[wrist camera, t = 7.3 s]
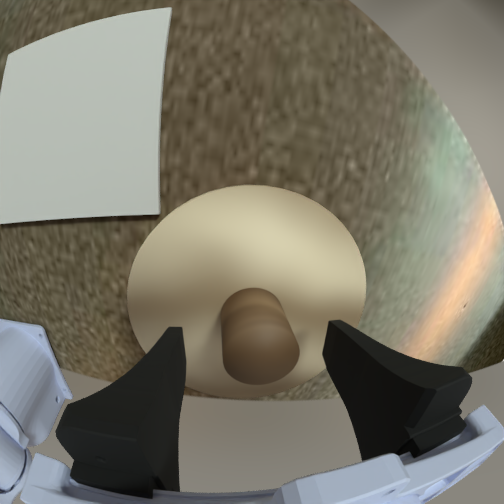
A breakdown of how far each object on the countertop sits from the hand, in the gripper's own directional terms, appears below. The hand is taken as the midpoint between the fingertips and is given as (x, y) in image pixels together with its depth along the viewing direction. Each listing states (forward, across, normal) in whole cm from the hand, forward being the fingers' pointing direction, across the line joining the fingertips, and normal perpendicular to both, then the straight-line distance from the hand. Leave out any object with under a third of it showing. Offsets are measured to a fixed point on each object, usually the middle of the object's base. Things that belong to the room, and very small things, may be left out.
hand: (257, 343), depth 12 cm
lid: (+3, 0, 0) cm, 3 cm away
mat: (+8, +13, -12) cm, 19 cm away
